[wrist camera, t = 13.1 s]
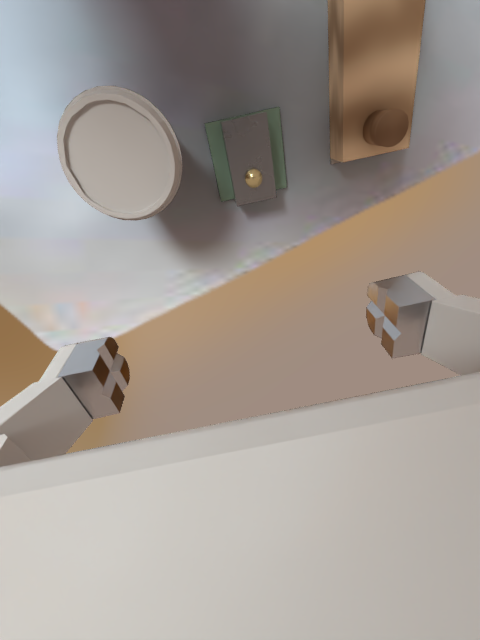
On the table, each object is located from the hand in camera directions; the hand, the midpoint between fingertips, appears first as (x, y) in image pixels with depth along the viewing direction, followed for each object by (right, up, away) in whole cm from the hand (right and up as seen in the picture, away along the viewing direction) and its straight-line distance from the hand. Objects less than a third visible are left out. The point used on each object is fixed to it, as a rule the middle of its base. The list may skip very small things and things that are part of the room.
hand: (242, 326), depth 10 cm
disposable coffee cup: (-11, +19, +24) cm, 32 cm away
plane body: (+12, +28, +20) cm, 36 cm away
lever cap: (+1, +18, +25) cm, 31 cm away
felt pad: (+1, +19, +25) cm, 31 cm away
